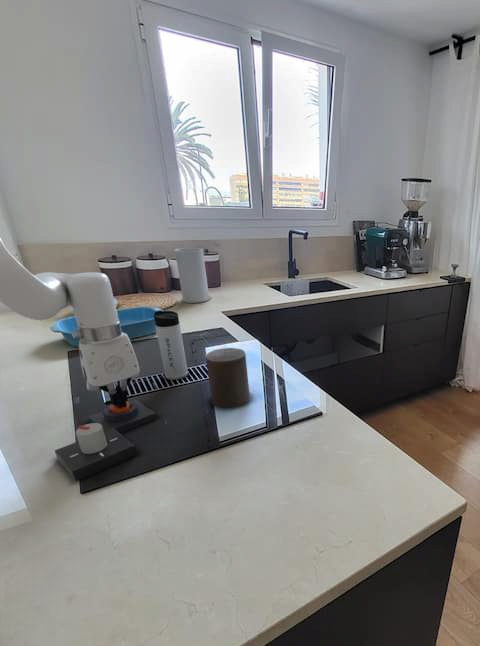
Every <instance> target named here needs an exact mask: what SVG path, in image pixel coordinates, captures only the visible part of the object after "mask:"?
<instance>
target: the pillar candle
mask: <svg viewBox="0 0 480 646" xmlns="http://www.w3.org/2000/svg"><path fill="white" fill-rule="evenodd" d="M246 355H247V354H246V351H245V350H244V349H242V348H237V347H223V348H217V349H213V350H211V351H209V352H207V353H206V354H205V362H206V369H207V376H208V384H209V390H210V391H209V392H210V397H211V404H212V405H213V406H214V407H216V408H219V409H235V408H240V407H243V406H244V405H246V404H248V403H249V401H250V400H251V395H250V385H249V375H248V366H247V365H248V364H247V356H246Z"/></svg>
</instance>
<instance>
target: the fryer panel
mask: <svg viewBox="0 0 480 646" xmlns="http://www.w3.org/2000/svg"><path fill="white" fill-rule="evenodd" d="M104 435H105V438H106V442H107V446H106V448H104V449H103V450H101V451H99V452H97V453H93V454H84V453H83V452H82V451H81V448H80V445H79V441H78V440H77V441H75V442H72V443H70V444H68V445H65V446H62V447H60V448H57V449H55V450H54V453H55V456H56V459H57V461H58V462H59V463H60V465H61V466H62V467H63V468H64V470H65V471H66V472H67V473H68V474H69V476H70V477H71V478H72V479H73V481H74V482H78V481H80V480H83V479H85V478H87V477H89V476H92V475H94V474H96V473H98V472H100V471H103V470H106V469H108V468H110V467H112V466H115V465H117V464H119V463H122V462H124V461H126V460H128V459H130V458H132V457H135V456H136V455H137V453H136V452H137V451H136V449H135V445H134V444H133V443H132V442H130V441H129V440H128V439H127V438H126V437H125V436H124V435H122V434H121V433H119V432H118V431H116V430H115V429H114V428H112V429H110V430H107V431H104Z"/></svg>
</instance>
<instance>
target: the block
mask: <svg viewBox="0 0 480 646" xmlns="http://www.w3.org/2000/svg"><path fill="white" fill-rule="evenodd" d="M126 402H128V403H129V404H130V409H129V410H127V411H125V412H122V413H111V410H110V406H111V405H112V403H111V404H109V405H108V406H106V407H104V409H103V411H100V412H97V413H94V414H91V415H88V416H87V417H88V421H89V424H91V423H99V424H101V425H102V428H103V431H107V430H110V429H112V428H114V429H115V430H116V431H118V432H119V433H120V434H121V433H123V432H126V431H129V430H132V429H134V428H136V427H138V426H142V425H144V424H146V423H149V422H152V421H154V420H157V415H156V412H155V411H153V410H152V409H151V408H149V407H148V406H147V405H145V404H144V403H142V402H140V400H138V399H135V400H132V401H130V400H128V401H126Z"/></svg>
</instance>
